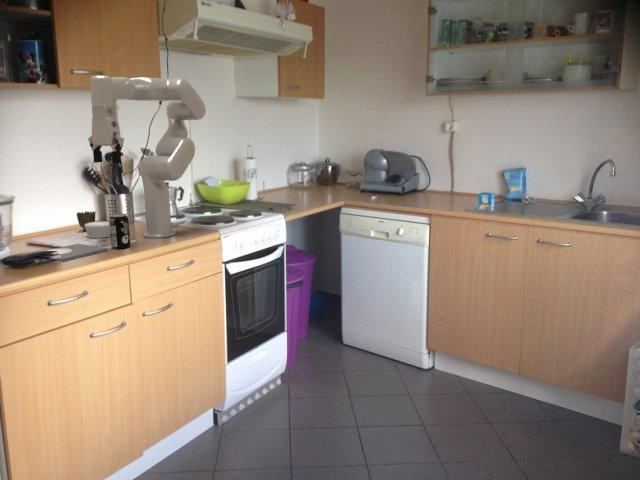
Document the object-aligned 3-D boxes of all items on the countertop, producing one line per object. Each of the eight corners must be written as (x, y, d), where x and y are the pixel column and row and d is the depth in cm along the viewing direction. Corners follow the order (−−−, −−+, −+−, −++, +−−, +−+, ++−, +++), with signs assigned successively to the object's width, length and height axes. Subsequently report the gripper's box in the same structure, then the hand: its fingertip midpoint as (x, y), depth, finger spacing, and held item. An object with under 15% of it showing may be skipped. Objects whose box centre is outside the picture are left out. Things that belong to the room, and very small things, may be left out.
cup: (79, 229, 240) (77, 211, 238) (98, 228, 242) (96, 210, 240) (76, 233, 233) (75, 214, 231) (96, 232, 234) (94, 213, 233)
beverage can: (132, 245, 209) (130, 213, 206) (127, 249, 202) (124, 216, 200) (114, 245, 208) (112, 213, 206) (109, 249, 202) (106, 216, 199)
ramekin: (119, 233, 231) (118, 221, 230) (109, 239, 221) (108, 226, 219) (92, 233, 232) (91, 221, 231) (80, 239, 221) (79, 226, 220)
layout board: (77, 246, 208) (77, 243, 208) (107, 250, 200) (107, 247, 200) (32, 256, 192) (32, 253, 192) (63, 261, 185) (62, 258, 184)
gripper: (129, 112, 194) (132, 162, 198) (96, 113, 203) (99, 161, 206) (111, 112, 188) (115, 163, 191) (78, 113, 197) (82, 162, 200)
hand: (107, 162), depth 199 cm, fingers open, 9 cm apart
